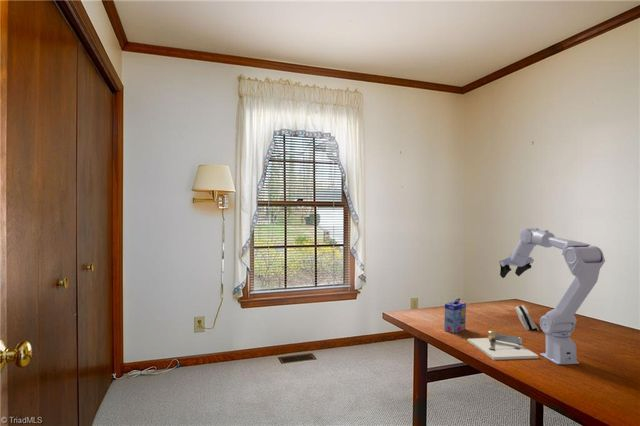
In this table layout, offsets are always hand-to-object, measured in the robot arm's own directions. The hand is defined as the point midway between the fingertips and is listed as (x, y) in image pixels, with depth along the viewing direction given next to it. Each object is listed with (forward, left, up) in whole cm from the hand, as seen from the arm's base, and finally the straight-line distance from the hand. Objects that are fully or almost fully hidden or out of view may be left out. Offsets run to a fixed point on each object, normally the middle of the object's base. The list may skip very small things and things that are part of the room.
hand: (509, 275), depth 160 cm
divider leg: (-12, +10, -24) cm, 29 cm away
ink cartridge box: (+10, +20, -26) cm, 34 cm away
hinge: (+14, -16, -26) cm, 34 cm away
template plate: (-15, +13, -26) cm, 33 cm away
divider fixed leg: (-14, +16, -25) cm, 33 cm away
